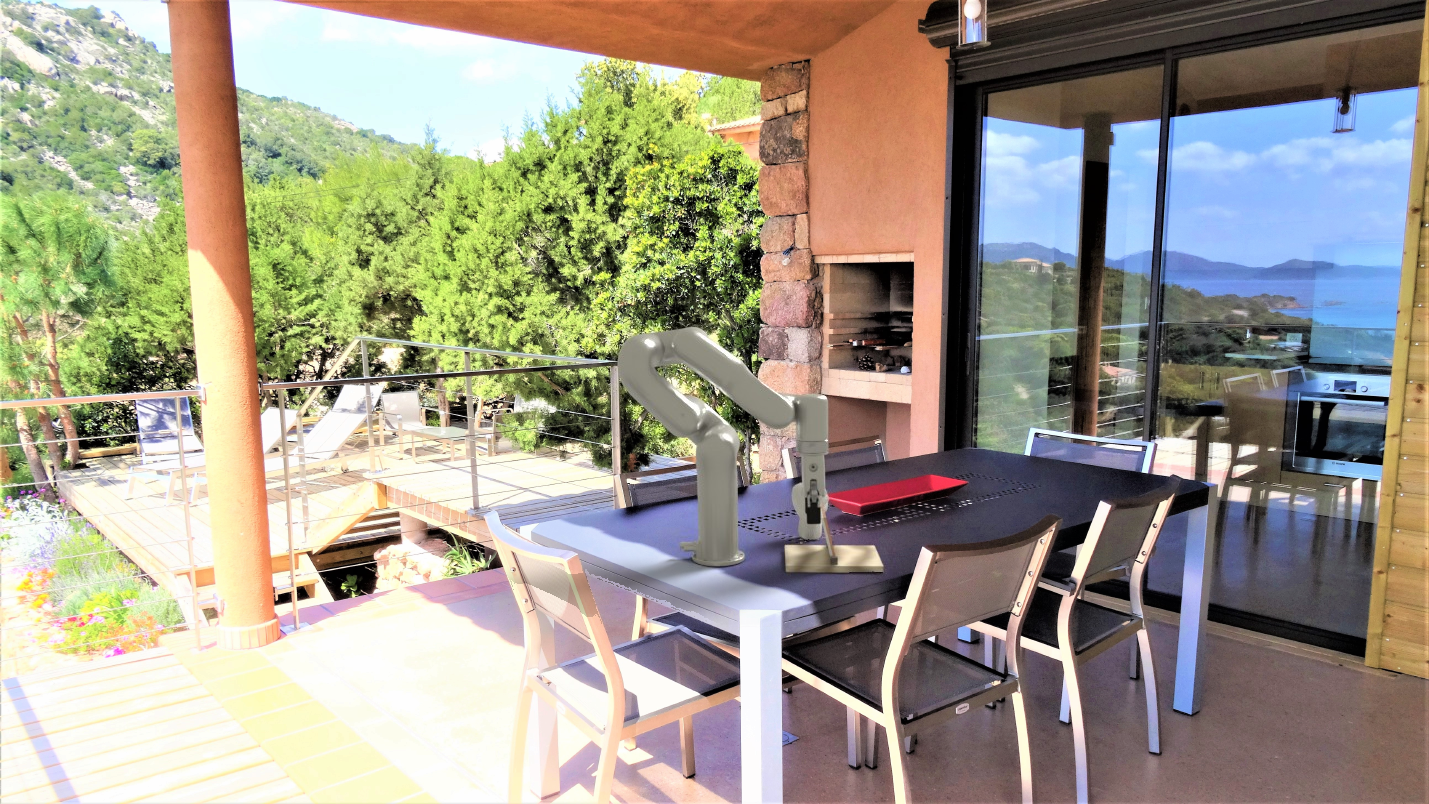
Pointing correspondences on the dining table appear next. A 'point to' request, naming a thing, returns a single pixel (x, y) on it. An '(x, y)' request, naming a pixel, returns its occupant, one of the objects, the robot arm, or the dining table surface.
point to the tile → (827, 532)
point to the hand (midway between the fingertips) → (812, 518)
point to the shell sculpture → (799, 505)
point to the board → (832, 558)
